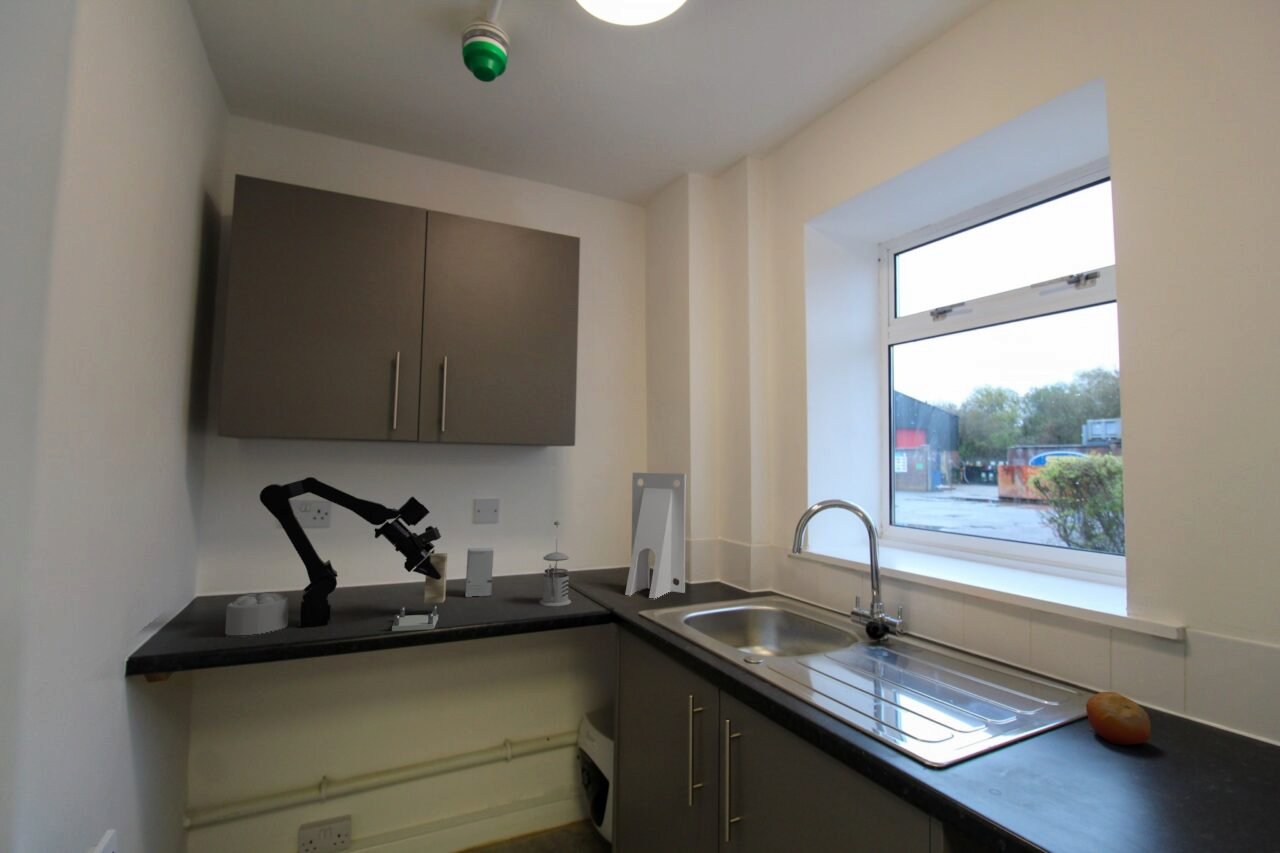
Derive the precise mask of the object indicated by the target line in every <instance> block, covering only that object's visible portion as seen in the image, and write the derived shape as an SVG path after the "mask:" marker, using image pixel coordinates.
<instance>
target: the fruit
mask: <svg viewBox="0 0 1280 853" xmlns="http://www.w3.org/2000/svg"><path fill="white" fill-rule="evenodd" d="M1085 710H1086V714H1087V719H1088V722H1089V724H1090V726H1091V728H1089V730H1088V731H1092V730H1093V731H1094V732H1095V733H1096V734H1097V735H1099V737H1100V738H1102V739H1105V740H1107V741H1108V742H1109V743H1111V744H1113V745H1118V746H1121V745H1122V746H1129V745H1131V746H1132V745H1139V744H1142V743H1144V742H1147V741H1148V740H1149V739H1150V738H1151V736H1152V735H1151V731H1152V730H1151V728H1152V724H1151V721H1150V716H1149V715H1148V713H1147V712H1146V711H1145V710H1144V708H1142V707H1140V705H1139V704H1138V703H1137V702H1136V701H1134V700H1133V699H1130V698H1128V697H1126V696H1124V695H1121V693H1118V692H1116V691H1102V692H1098V693H1096V694H1094V695H1092V696H1091V697H1089V698H1088V700H1087V702H1086V705H1085Z"/></svg>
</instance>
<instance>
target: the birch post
mask: <svg viewBox="0 0 1280 853" xmlns="http://www.w3.org/2000/svg"><path fill="white" fill-rule="evenodd" d="M430 554H431V563H432V564H433V566H434V567H435V568H436V570H437V571H438V573H439V574H440V575H441V578H440V579H439V580H437V579H434V578H432V577H429V576H426V575H425V582H424V583H425V584H424V598H423V599H424V602H423V604H436V603H440V604H442V603H444V602H445V600H446V591H447V590H446V588H447V567H448V553H447V552H446V553H445V552H442V553H439V552H438V553H435V552H434V553H431V552H430V553H429V554H428V555H427V556H429V555H430Z"/></svg>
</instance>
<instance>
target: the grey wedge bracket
mask: <svg viewBox="0 0 1280 853" xmlns="http://www.w3.org/2000/svg"><path fill="white" fill-rule="evenodd" d="M640 479H641V480H642V482H643V483H642V485H640V484H639V480H640ZM676 480H677V481H679V486H676V485H675V482H676ZM686 484H687V474H686V473H671V472H670V473H668V472H632V486H631V487H632V489H631V490H632V492H631V493H632V495H631V497H632V498H631V500H632V501H631V555H630V557H631V559H630V560H631V561H630V566H629V572H628V577H627V581H626V582H627V583H626V588H625V593H624V594H625V595H629V596H628V597H632V596H631V595H633V594H636V593H638V592H641V591H643V590H645V589H647V588H648V589H650V590H649V595H648V599H649V598H654V599H653V600H656V599H658V598H660V596H661V597H662V595H663V596H665V595H667V594H669V593H670V592H672V593H673V592H674V593H681V594H682V593H683V594H685V593H686V519H687V518H686V512H687V510H686V509H687V508H686V506H687V505H686V503H687V496H686V495H687V492H686V490H687V488H686V487H687V485H686ZM651 550H652V552H653V553H654V558H655V560H654V564H653V565H654V566H653V570H652V571H653V572H652V576H651V582H650V573H651V572H650V568H651V566H650V565H651V564H650V559H651V558H650V556H651V555H650V554H651ZM674 579H677V580H678V582H679V583H678V584H675V583H674V581H675V580H674ZM650 584H651V585H650ZM642 589H643V590H642ZM637 591H638V592H637ZM635 592H636V593H635ZM668 592H669V593H668ZM666 593H667V594H666ZM664 594H665V595H664ZM625 595H624V596H625ZM657 597H658V598H657ZM655 598H656V599H655Z"/></svg>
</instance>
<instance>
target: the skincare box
mask: <svg viewBox="0 0 1280 853" xmlns="http://www.w3.org/2000/svg"><path fill="white" fill-rule="evenodd" d="M494 552H495V550H494V548H489V547H488V548H487V547H485V548H484V547H478V548H477V547H476V548H475V547H470V548H467V557H466V558H467V559H466V575H465V592H464V595H465V598H473V597H472V596H479V597H490V596H489V595H491V596H492V586H493V585H492V584H493V567H494Z"/></svg>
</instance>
